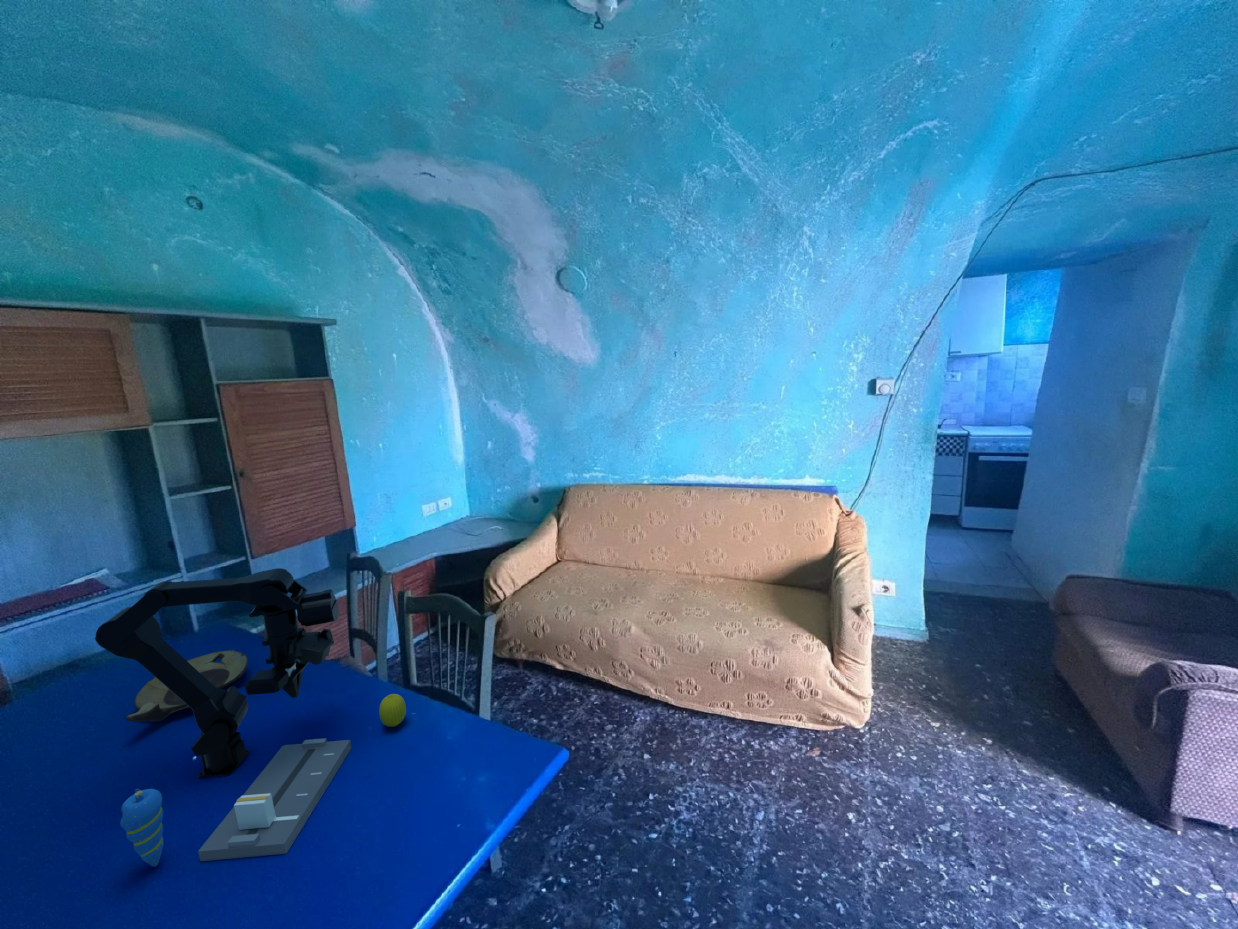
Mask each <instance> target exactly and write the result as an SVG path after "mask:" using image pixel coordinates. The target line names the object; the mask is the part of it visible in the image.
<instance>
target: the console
mask: <svg viewBox="0 0 1238 929" xmlns="http://www.w3.org/2000/svg"><path fill="white" fill-rule="evenodd" d="M351 750H352V741H351V739H344V740H342V739H341V740H333V741H331V740H329V741H328V740H327V738H326V737H325V738H313V739H305V740H303V742H302V743H296V744H295V743H294V744H283V745H282V746H281V747H280V749H278V751H277V752H276V754H275V755H274V756H273V757H272V759H271V760H270V761H269V762H268V763H267V765H266V766H265V767H264V769H263V770H262V771H261V772H260V773H259V774H258V776H257V777H256V778H255V780H254V781H253V782H252V783H251V785H250V786H249V787H248V789H247V790H246V791H245V792H244V794H243V795H242V796H244V795H256V794H268V793H271V796H272V800H273V805H274V810H275V815H276V818H275V819H274V821H273V822H272V824H271V825H270V826H269V827H265V828H254V829H242V830H239V826H238V822H237V817H236V813H235V808H234V806H233V807H232V808H231V810H230V811H229V812H228V814H227V815H226V816H225V817H224V818H223V820H222V821H220V823H219V825H218V826H217V827H216V829H215V830H214V831H213V832H212V834H211V835H210V836H209V837H208V839H207V840H206V841H205V842H204V843H203V844H202V846H201V847H200V848H199V850H198V851H197V853H198V857H199V861H200V862H208V861H219V860H221V861H222V860H228V859H229V860H230V859H240V858H241V859H242V858H252V857H264V856H274V855H285V854H287V853H288V852H289V851H290V848H291V846H292V845H293V844H294V842H295V840H296V839H297V837H298V835H299V833H301V831H302V829H303V828H304V827H305V824H306V822H307V821H308V820H309V817H310V816H311V814H312V813H313V812H314V809H315V808H316V806H317V805H318V804H319V801H321V799H322V796H323V795H324V793H325V792H326V790H327V788H328V786H330V784H331V782H332V781H333V779H334V777H335V775H336V774H337V772H338V770H339V769H340V768H341V766H342V764H343V763H344V761H345V760H346V758H347V756H348V754H350V751H351Z"/></svg>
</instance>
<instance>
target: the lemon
mask: <svg viewBox="0 0 1238 929" xmlns="http://www.w3.org/2000/svg"><path fill="white" fill-rule="evenodd" d="M406 706H407V705H406V702H405V700H404V697H402V696H401V695H400V694H396V693H391V694H388V695H386V697H384V698H383V699H382V700H381V702H380V704H379V711H378V713H379V718H380V721H381V723H383V725H384V726H387V727H393V728H394V727H397V726H398V725H399V724H401V723H402V722H403V720H404V719H405V717H406V714H407V707H406Z"/></svg>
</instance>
